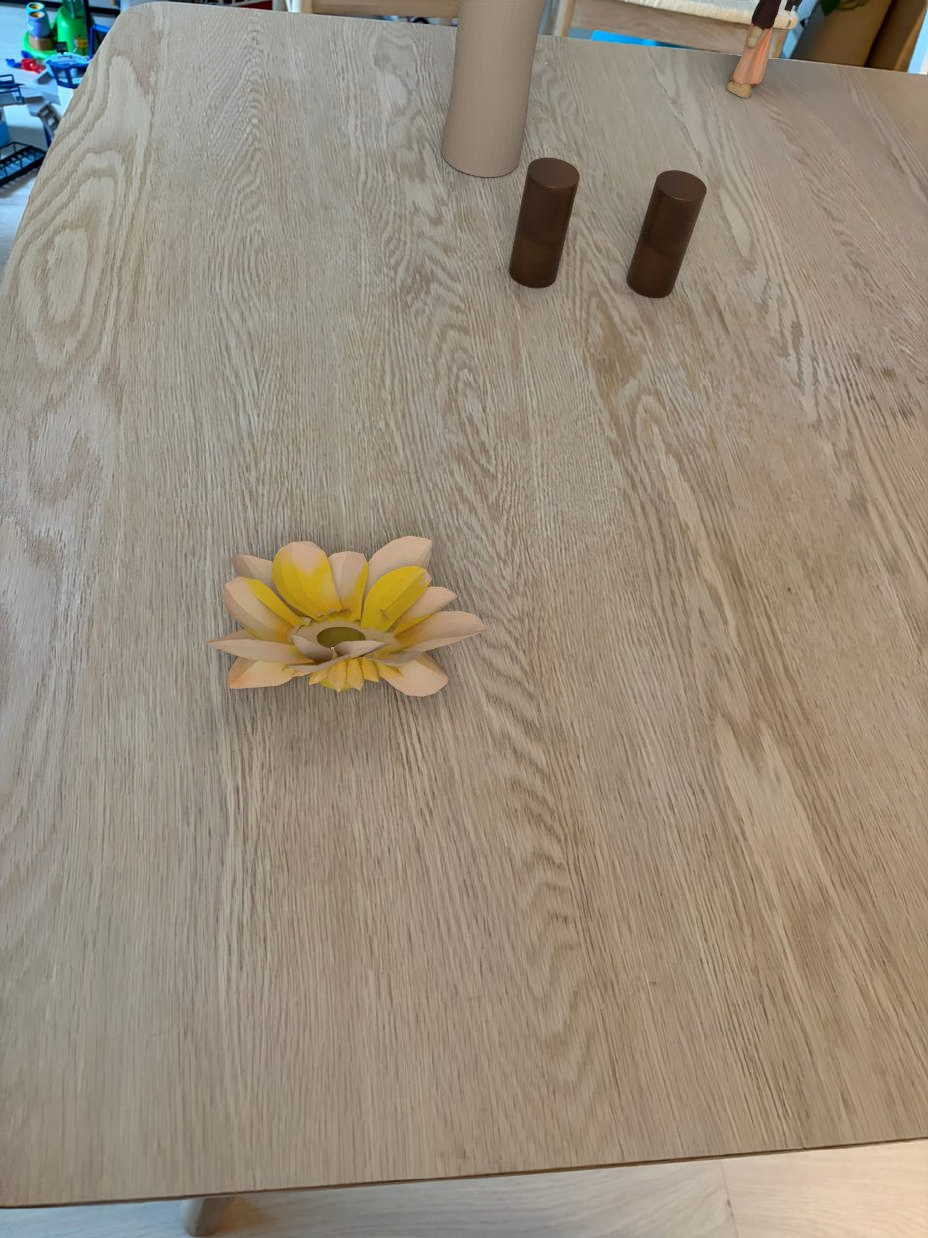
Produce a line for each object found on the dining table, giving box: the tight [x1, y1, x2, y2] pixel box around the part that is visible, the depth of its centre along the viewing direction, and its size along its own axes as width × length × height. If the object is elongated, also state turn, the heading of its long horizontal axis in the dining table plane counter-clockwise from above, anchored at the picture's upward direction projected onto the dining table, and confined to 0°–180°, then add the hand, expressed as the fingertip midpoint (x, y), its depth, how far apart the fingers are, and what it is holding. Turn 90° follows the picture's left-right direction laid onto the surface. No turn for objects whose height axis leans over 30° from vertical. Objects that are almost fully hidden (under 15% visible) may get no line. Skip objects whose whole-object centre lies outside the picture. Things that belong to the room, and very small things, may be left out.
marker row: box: [508, 157, 708, 299], centre depth 82 cm, size 14×4×9 cm, turn 92°
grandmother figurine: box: [726, 0, 783, 99], centre depth 103 cm, size 8×4×13 cm, turn 171°
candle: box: [440, 0, 547, 178], centre depth 88 cm, size 7×14×20 cm, turn 172°
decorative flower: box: [203, 535, 487, 698], centre depth 58 cm, size 15×11×10 cm
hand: (769, 0), depth 99 cm, fingers closed on grandmother figurine, 3 cm apart
